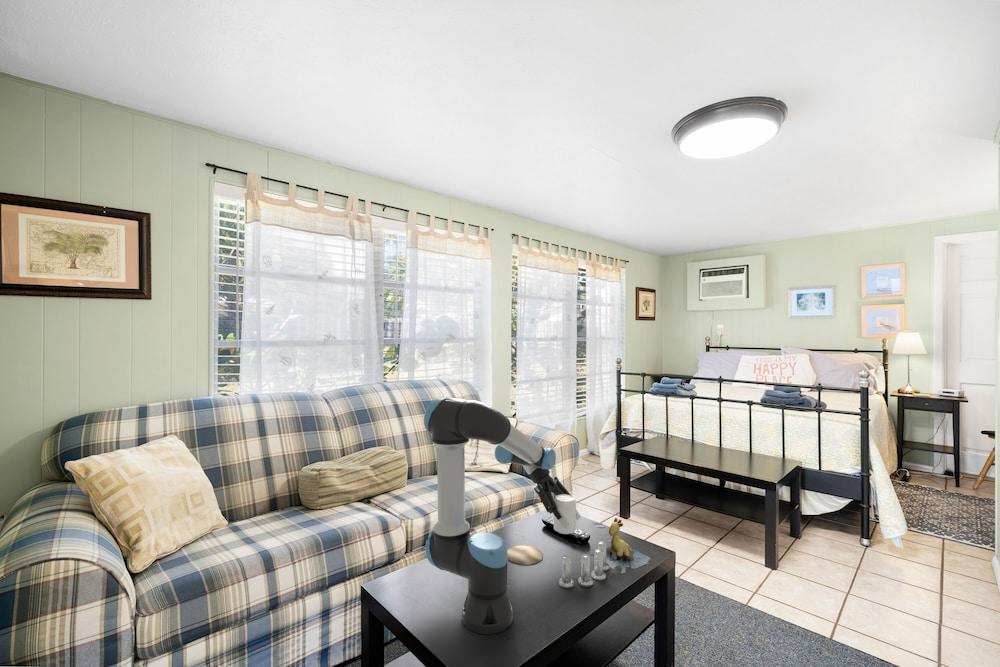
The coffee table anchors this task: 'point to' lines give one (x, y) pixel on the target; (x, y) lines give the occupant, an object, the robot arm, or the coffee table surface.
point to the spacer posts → (586, 568)
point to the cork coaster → (524, 555)
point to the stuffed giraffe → (622, 550)
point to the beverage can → (566, 513)
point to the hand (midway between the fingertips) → (572, 522)
